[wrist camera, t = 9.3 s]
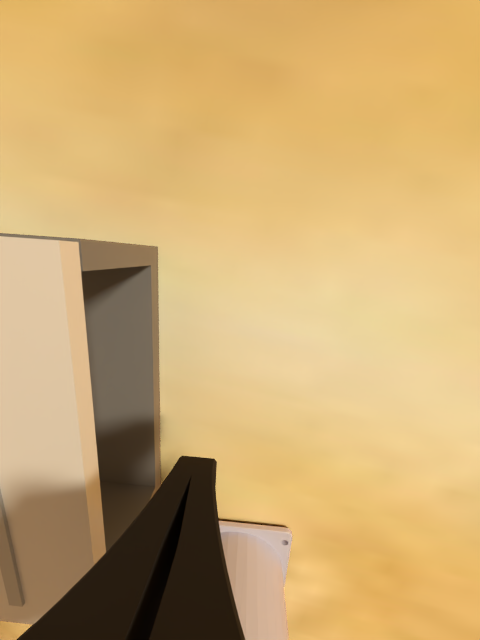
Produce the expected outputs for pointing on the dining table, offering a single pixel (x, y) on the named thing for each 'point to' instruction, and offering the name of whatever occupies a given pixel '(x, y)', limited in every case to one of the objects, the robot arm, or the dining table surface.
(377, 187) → the dining table surface
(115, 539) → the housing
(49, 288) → the lid
